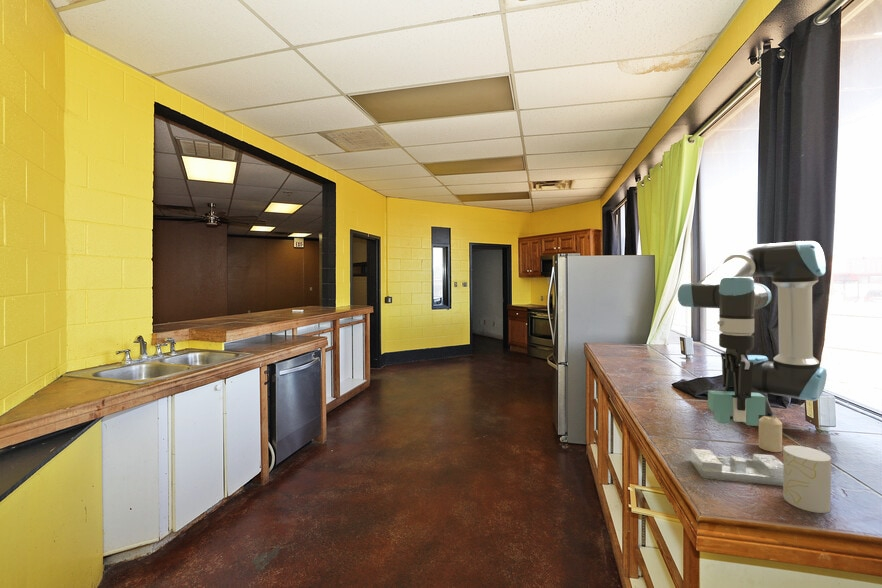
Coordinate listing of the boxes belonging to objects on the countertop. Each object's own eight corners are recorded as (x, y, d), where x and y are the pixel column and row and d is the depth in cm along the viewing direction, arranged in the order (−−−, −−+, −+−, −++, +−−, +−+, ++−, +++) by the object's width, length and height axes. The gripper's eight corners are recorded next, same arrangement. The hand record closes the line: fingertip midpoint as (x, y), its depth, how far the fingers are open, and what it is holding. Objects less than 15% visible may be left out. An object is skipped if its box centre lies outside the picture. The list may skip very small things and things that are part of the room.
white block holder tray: (771, 468, 107) (771, 454, 107) (793, 487, 97) (793, 471, 97) (690, 460, 112) (690, 447, 112) (703, 477, 103) (702, 463, 103)
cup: (774, 494, 95) (774, 446, 94) (804, 491, 95) (804, 444, 95) (808, 514, 86) (808, 462, 86) (840, 511, 87) (841, 459, 87)
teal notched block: (758, 421, 105) (758, 392, 105) (765, 426, 101) (765, 396, 101) (707, 418, 108) (707, 390, 108) (712, 422, 105) (712, 393, 105)
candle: (776, 445, 120) (776, 414, 120) (785, 453, 115) (786, 420, 115) (755, 443, 122) (755, 412, 122) (763, 451, 117) (763, 419, 116)
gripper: (708, 329, 113) (708, 407, 114) (733, 337, 97) (733, 428, 98) (738, 329, 111) (738, 409, 112) (769, 338, 95) (768, 431, 96)
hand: (735, 418), depth 105 cm, fingers closed on teal notched block, 3 cm apart
